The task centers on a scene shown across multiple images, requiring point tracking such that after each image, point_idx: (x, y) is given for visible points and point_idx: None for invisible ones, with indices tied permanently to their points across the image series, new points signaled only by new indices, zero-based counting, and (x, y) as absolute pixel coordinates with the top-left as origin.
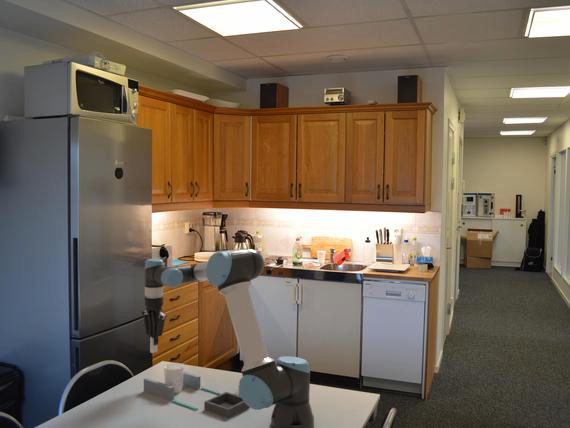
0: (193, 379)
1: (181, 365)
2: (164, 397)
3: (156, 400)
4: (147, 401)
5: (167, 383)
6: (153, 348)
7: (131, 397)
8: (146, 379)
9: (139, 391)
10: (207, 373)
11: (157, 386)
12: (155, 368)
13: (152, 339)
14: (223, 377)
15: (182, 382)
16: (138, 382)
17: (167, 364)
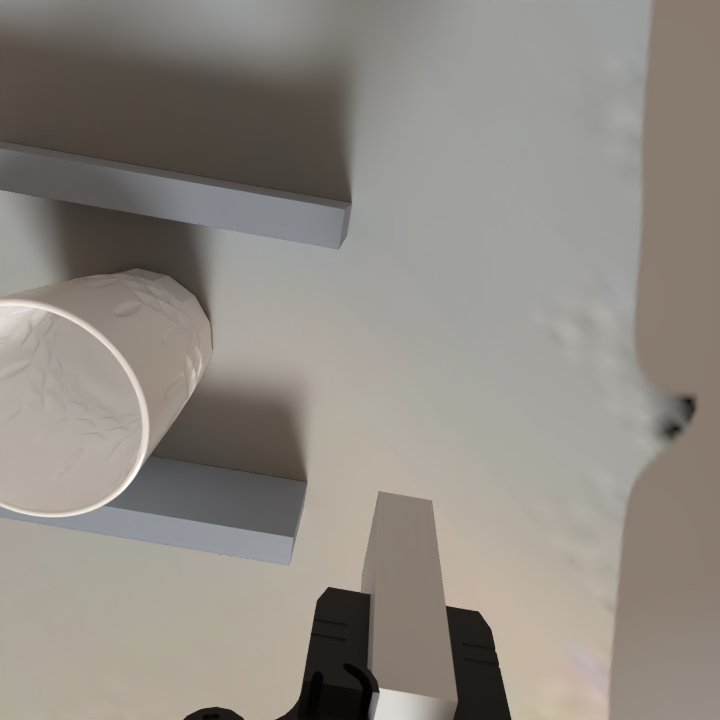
0: None
1: (26, 497)
2: (78, 155)
3: (108, 85)
4: (157, 25)
5: (110, 277)
6: (372, 547)
7: (349, 26)
8: (308, 211)
9: (381, 180)
10: (172, 693)
11: (138, 171)
12: (591, 629)
13: (374, 654)
14: (26, 677)
15: (50, 384)
16: (527, 340)
17: (142, 429)
